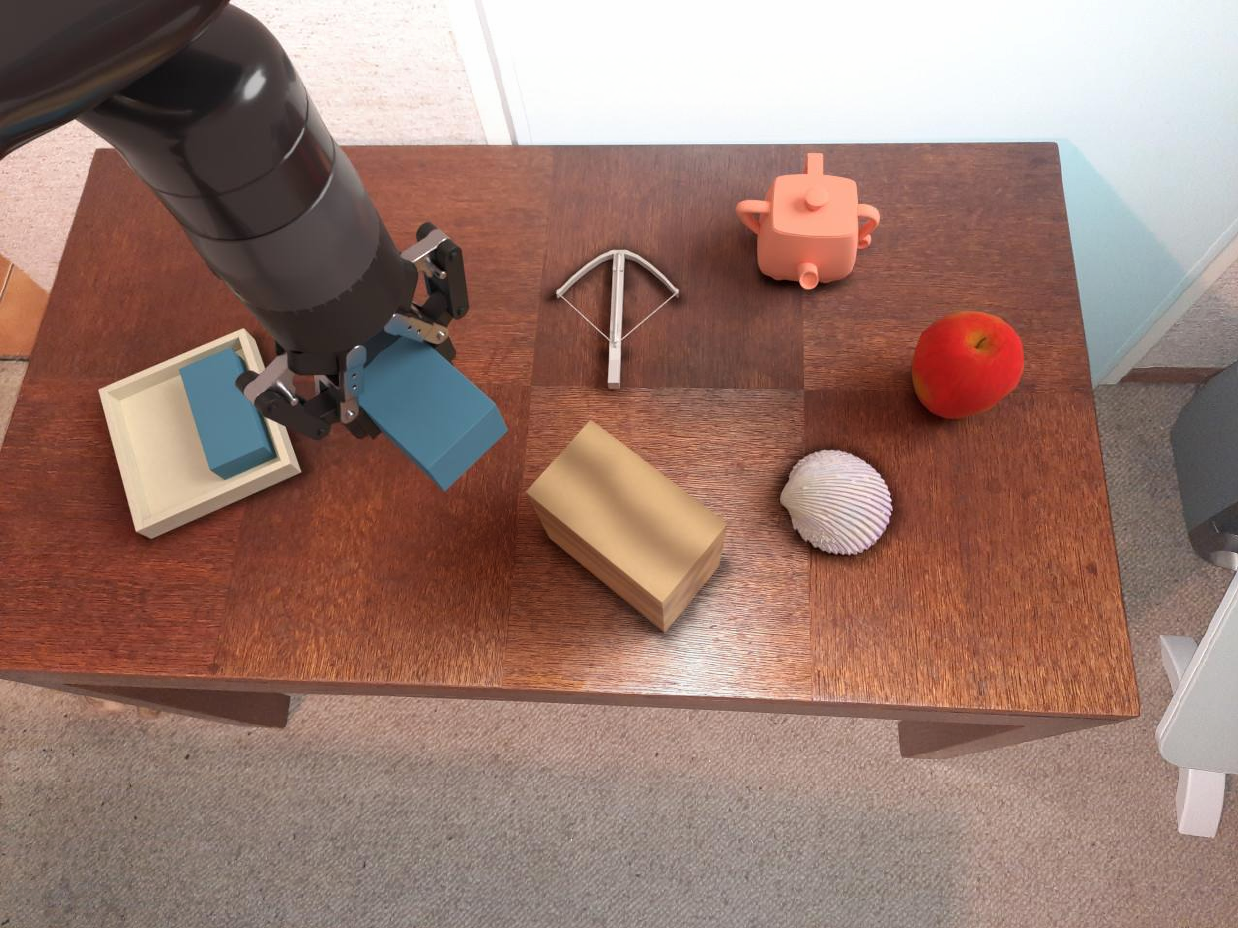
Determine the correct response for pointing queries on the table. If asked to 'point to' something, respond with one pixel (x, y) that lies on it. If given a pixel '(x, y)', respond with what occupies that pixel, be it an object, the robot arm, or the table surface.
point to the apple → (966, 364)
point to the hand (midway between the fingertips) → (405, 394)
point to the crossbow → (616, 303)
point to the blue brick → (226, 415)
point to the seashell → (837, 502)
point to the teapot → (809, 226)
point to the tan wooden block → (628, 524)
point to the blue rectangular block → (429, 410)
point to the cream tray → (180, 444)
